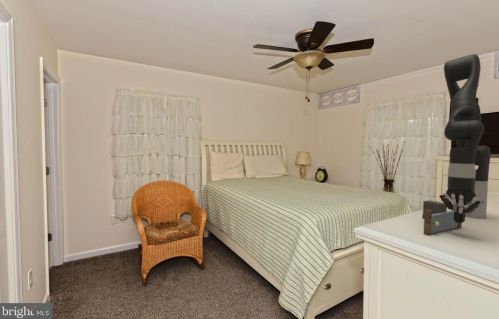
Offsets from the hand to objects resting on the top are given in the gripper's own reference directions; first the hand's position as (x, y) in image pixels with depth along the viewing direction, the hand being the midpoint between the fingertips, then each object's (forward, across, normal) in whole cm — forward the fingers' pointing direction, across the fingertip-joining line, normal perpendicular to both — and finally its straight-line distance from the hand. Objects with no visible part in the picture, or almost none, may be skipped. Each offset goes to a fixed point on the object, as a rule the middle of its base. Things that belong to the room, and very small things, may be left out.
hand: (459, 222), depth 89 cm
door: (+4, +4, 0) cm, 6 cm away
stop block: (+5, +15, -12) cm, 20 cm away
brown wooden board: (+5, +5, 0) cm, 7 cm away
